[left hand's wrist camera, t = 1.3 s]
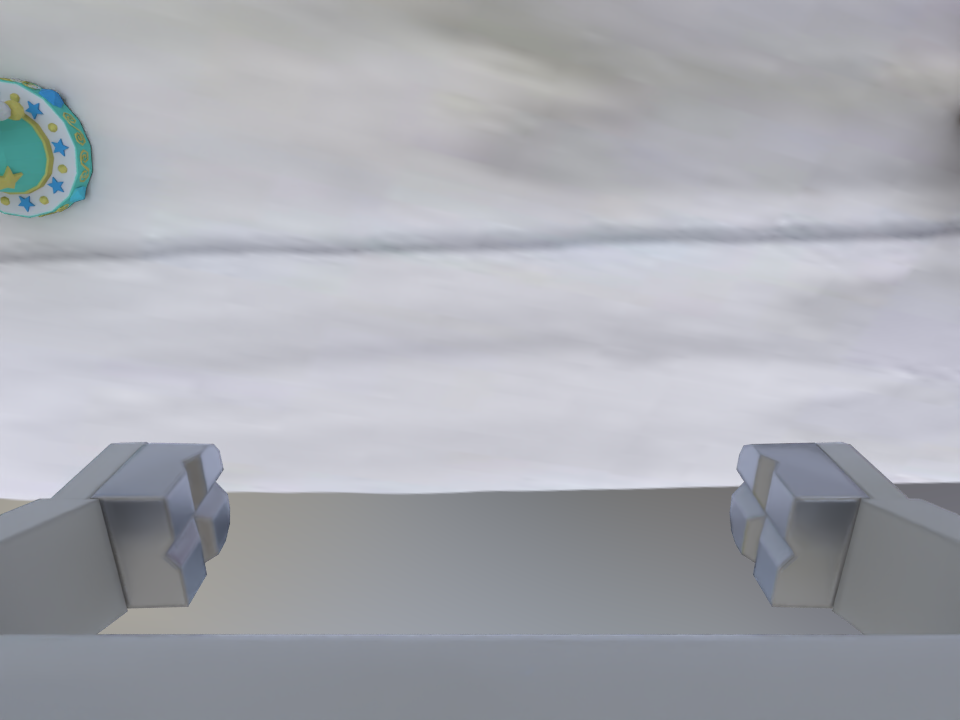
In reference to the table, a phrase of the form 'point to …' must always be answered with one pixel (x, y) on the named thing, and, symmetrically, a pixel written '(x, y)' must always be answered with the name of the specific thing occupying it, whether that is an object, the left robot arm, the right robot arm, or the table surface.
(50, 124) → the decorative hourglass
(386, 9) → the table surface
